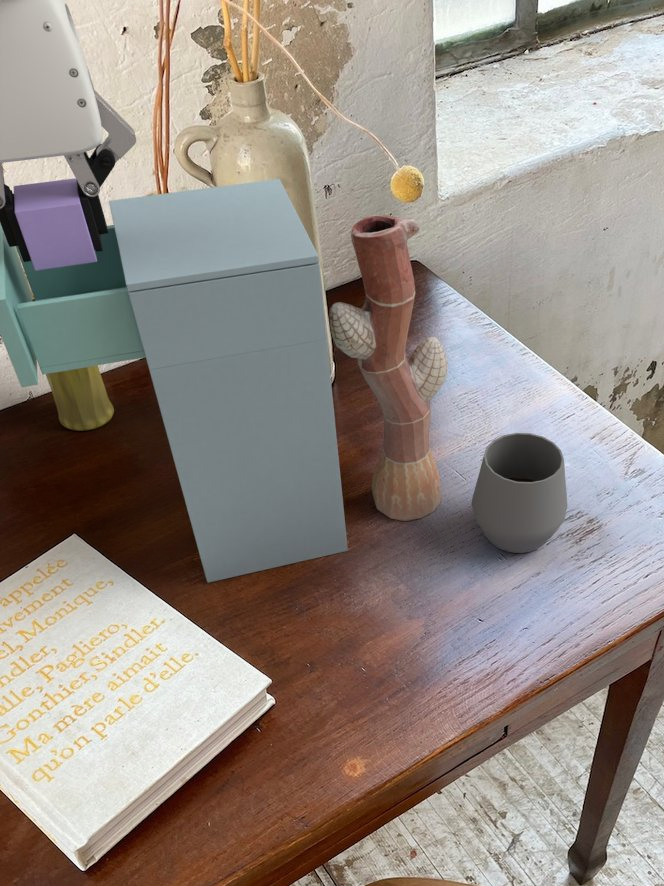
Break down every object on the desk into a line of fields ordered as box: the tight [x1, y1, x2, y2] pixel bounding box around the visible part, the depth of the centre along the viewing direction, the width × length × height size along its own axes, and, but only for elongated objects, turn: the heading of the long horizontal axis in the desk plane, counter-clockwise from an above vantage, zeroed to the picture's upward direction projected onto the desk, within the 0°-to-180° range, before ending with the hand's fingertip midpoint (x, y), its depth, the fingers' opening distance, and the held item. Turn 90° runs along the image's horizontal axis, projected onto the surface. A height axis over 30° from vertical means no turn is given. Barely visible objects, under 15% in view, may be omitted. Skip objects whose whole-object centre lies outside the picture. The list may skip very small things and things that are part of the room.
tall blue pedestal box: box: [108, 178, 349, 584], centre depth 82 cm, size 14×14×31 cm
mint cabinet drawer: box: [0, 223, 146, 388], centre depth 70 cm, size 19×14×7 cm
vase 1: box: [32, 295, 115, 432], centre depth 99 cm, size 6×6×14 cm
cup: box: [471, 432, 568, 554], centre depth 89 cm, size 10×9×10 cm
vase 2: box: [328, 214, 448, 522], centre depth 85 cm, size 10×7×30 cm
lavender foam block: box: [13, 177, 97, 271], centre depth 66 cm, size 4×4×4 cm
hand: (62, 245), depth 67 cm, fingers closed on lavender foam block, 4 cm apart
